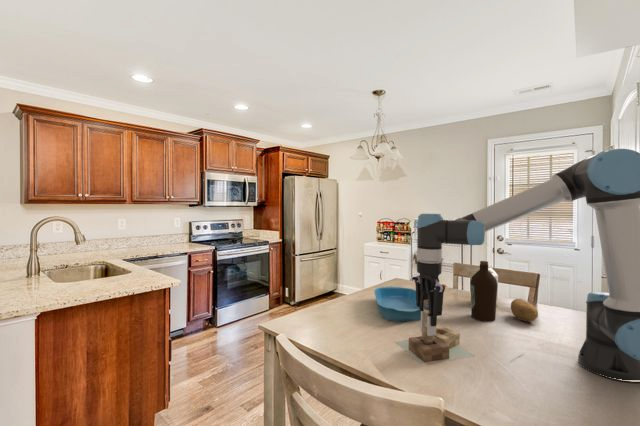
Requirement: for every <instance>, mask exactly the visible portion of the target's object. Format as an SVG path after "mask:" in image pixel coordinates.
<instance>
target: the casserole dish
mask: <svg viewBox="0 0 640 426" xmlns="http://www.w3.org/2000/svg"><path fill="white" fill-rule="evenodd" d="M374 296H375V299H376V303H377V307H378V311H379V313H380V314H381V316H382V318H384V319H385V320H387V321H390V322H401V323H402V322H410V321H421V318H420V317H421V310H420V309H419V307H417V306H416V289H414V288H409V287H408V288H407V287H402V286H382V287H381V286H380V287H376V288H375V289H374ZM419 303H420V302H419Z"/></svg>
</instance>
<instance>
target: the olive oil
mask: <svg viewBox="0 0 640 426" xmlns="http://www.w3.org/2000/svg"><path fill="white" fill-rule="evenodd" d="M488 266H489V261H487V260H480V261H479V270H477V272H476V273H474V274H473V275H472V276H471V278H470V283H469V284H470V302H471V303H470V308H471V314H470V315H471V317H472V318H473V319H475V320H476V321H477V320H478V321H483V322H495V321H496V317H497V313H496V312H497V305H496V301H497V288H498V289H499V286H498V285H499V283H498V284H497V280H496V278H495V277H494V276H493V275H492V274H491V273H490V272H489V270H488Z"/></svg>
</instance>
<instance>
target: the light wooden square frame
mask: <svg viewBox="0 0 640 426" xmlns="http://www.w3.org/2000/svg"><path fill="white" fill-rule="evenodd" d="M421 336H423V331H421ZM433 336H435V337H436V338H438V339H439V340H441V341H442V342H444V343H445V344H447V345H448V346H449V349H451V348H453V347H455V346H457V345H459V346H460V345H461V344H460V340H461V339H460V336H461V335H460V332H458V331H455V330H452V329H449V328H447V327H444V326H440V325H438V324H437V325H436V335H433Z"/></svg>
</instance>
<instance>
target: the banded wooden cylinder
mask: <svg viewBox="0 0 640 426" xmlns="http://www.w3.org/2000/svg"><path fill="white" fill-rule="evenodd" d="M423 308H424V312H423V343H424V344H426V345H432V344H433V336H428V335H427V314H429V303H428V300H424V302H423Z"/></svg>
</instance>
